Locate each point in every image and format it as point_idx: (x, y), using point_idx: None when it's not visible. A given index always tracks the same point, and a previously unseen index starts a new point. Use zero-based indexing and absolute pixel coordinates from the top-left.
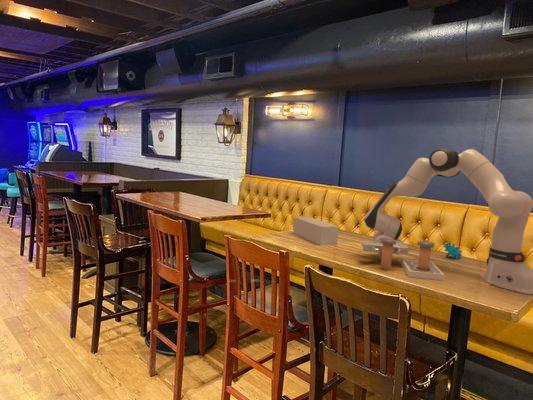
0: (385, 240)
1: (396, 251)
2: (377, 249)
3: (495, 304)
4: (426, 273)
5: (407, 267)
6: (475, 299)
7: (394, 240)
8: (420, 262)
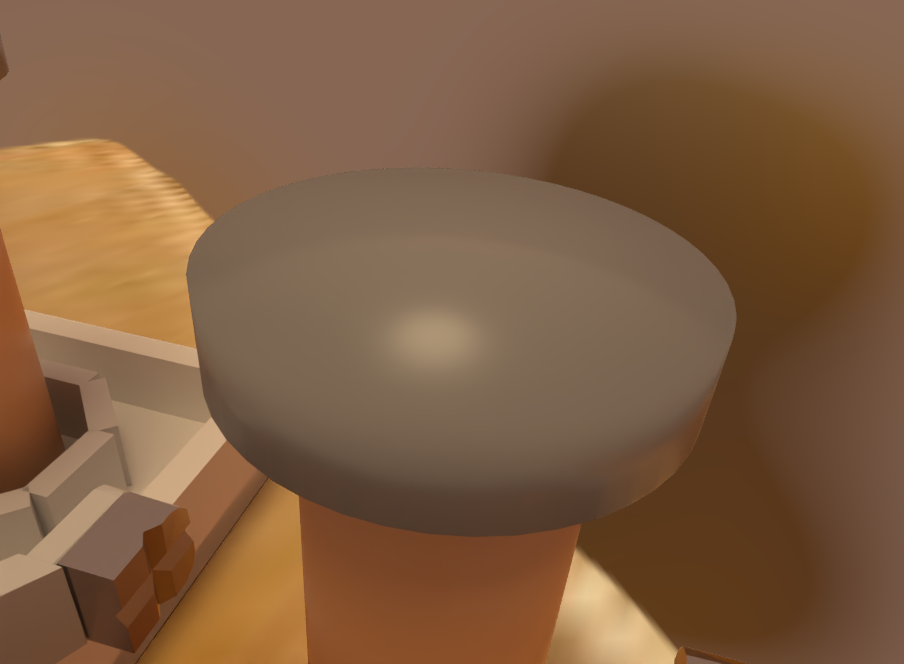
0: (594, 219)
1: (180, 518)
2: (699, 651)
3: (76, 170)
4: (112, 336)
5: (181, 476)
6: (116, 199)
7: (284, 214)
8: (31, 337)
